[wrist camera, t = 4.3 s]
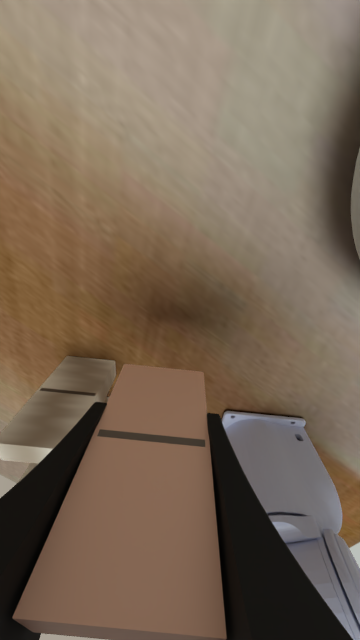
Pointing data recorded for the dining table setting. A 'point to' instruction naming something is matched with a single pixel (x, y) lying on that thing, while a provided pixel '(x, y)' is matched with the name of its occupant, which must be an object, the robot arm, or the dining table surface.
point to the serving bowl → (356, 205)
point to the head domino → (136, 523)
